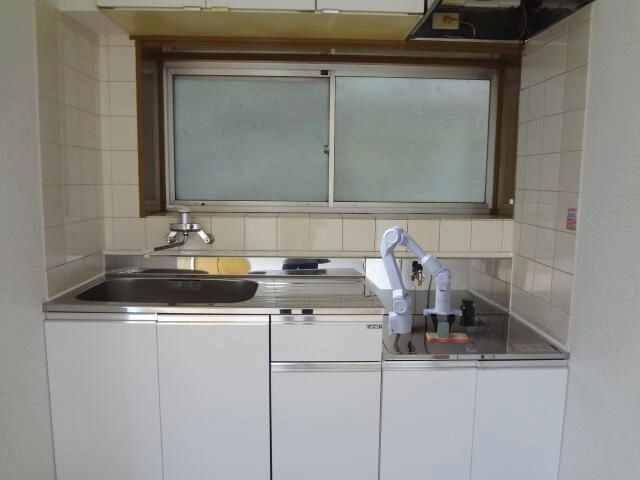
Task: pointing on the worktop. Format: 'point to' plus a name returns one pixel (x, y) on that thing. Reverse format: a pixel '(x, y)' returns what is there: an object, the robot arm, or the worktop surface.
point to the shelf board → (449, 338)
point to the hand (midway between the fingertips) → (441, 332)
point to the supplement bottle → (467, 312)
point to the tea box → (442, 328)
